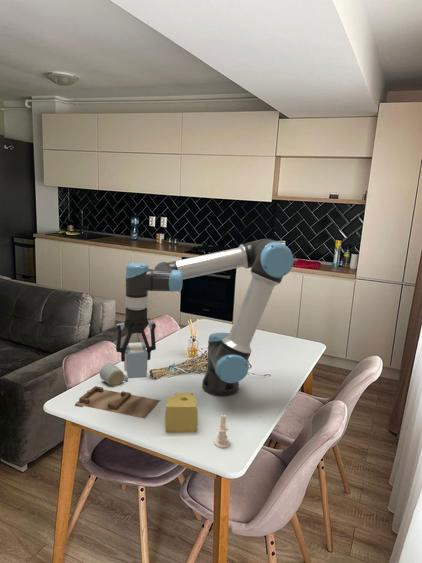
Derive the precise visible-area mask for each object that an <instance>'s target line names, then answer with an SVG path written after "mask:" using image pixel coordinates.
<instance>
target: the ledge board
mask: <svg viewBox="0 0 422 563" xmlns="http://www.w3.org/2000/svg"><path fill="white" fill-rule="evenodd" d="M131 393H132V392H127V391H123V390H122V391H121V392H118V391H113V390H107V389H105V388H104V387H103V386H102V387H101V386H98V385H97V386H96V385H95V386H94V387H92V388H91V389H88V390H86V392H85V393H84V394H83V395H82V396H80V397H79V398H78V401H76V402H75V403H74V406H75V407H79V408H80V407H81V408H83V407H85V408H86V407H88V408H92V409H95V410H101V411H107V412H111V413H116V414H120V415H126V416H130V417H134V418H135V417H136V418H140V419H146V418H147V417H148V416H149V414H150V413H151V412H152V411H153V410H154V409H155V408H156V407H157V406H158V404H159V403H160V402H161V399H155V398H152V397H151V398H150V397H146V396H140V395H135V394H131Z"/></svg>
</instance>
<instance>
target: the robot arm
mask: <svg viewBox="0 0 422 563" xmlns="http://www.w3.org/2000/svg"><path fill="white" fill-rule="evenodd" d="M293 266H294V255H293V252H292V250H291V249H290V248H289V247H288V246H286V245H285V244H284V243H282V242H279V241H277V240H274V239H271V238H262V239H258V240H254V241H250V242H246V243H242V244H240V245H239V246H238V247H235V248H230V249H226V250H222V251H221V250H219V251H217V252H211V253H208V254H202V255H198V256H193V257H189V258H184V259H178V260H174V261H168V262H167V261H161V262H159V263H157V264H156V265H155V267H154V268H153V269H149V265H148V263H145V262H130V263H128V264H126V267H125V268H126V269H125V271H126V272H125V319H124V321H123V322H121V323H116V329H117V335H116V336H117V337H116V343H115V344H116V345H115V351H116V353H120V360H121V362H123V368H124V372H127V351H126V348H127V346H128V343H130V340H131V337H132V336H133V334H141V337H142V341H143V342H144V345H145V348H146V351H147V361H150V360H151V353H152V351H156V348H157V347H156V334H155V333H156V332H155V330H156V326H157V325H156V323H155V322H154V321H152V322H151V321H149V320H148V308H147V307H148V297H149V296H148V292H171V293H172V292H180V291H182V289H183V283H184V282H183V280H186V279H191V278H196V277H201V276H207V275H211V274H215V273H220V272H225V271H229V270H233V269H238V268H242V267H243V268H245V269H246V270H247V269H250V271H249V272H250V274H251V280H250V283H249V285H248V287H247V290H246V292H245V294H244V297H243V298H242V302H241V304H240V306H239V309H238V312H237V314H236V316H235V319H234V322H233V324H232V326H231V329H230V332H213V333H211V334H210V335H209V337H208V341H207V343H208V344H207V345H208V346H207V365H206V367H207V368H206V371H205V374H204V376H203V379H202V381H201V382H202V386H201V387H202V389H203V391H204V392H205V393H207V394H210V395H213V396H216V397H217V396H220V397H224V396H225V397H226V396H231V395H235V394H236V393H238V392H239V389H240V382H241V381H243V379H244V378H246V376H247V375H248V373H249V363H248V361H249V358H250V356H251V355H252V348H251V346H250V345H251V343H252V341H253V338H254V336H255V333H256V331H257V329H258V326H259V325H260V322H261V319H262V317H263V314H264V312H265V309H266V307H267V305H268V303H269V300H270V298H271V295H272V293H273V291H274V288H275V286H278V285H281V283H282V280H283V277H284V276H286V275H288V274H289V273H290V272H291V271H292V268H293ZM147 327H148V328H149V333H150V342H151V343H150V344H151V345H150V344H149V340H148V339H147V336H146V332H145V330H146V329H147ZM124 328H126V329H127V332H126V334H125V335H126V336H125V338H124V340H123V344H121V342H122V333H123V332H122V331H123V330H124ZM121 345H122V346H121Z"/></svg>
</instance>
